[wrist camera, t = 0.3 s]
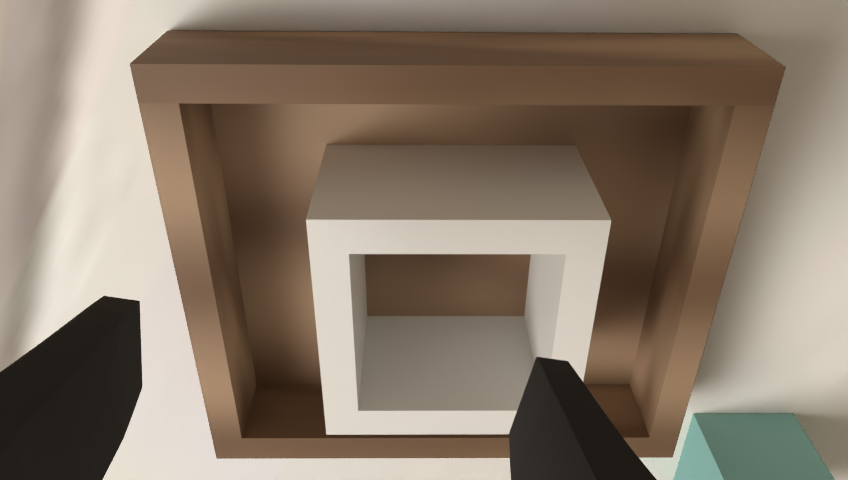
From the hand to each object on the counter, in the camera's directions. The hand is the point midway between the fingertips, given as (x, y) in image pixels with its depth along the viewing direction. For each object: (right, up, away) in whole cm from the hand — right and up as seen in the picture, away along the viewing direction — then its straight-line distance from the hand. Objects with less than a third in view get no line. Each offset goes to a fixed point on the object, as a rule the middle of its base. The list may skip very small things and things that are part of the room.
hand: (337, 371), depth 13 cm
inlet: (+2, +2, +10) cm, 11 cm away
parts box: (+2, +2, +10) cm, 11 cm away
